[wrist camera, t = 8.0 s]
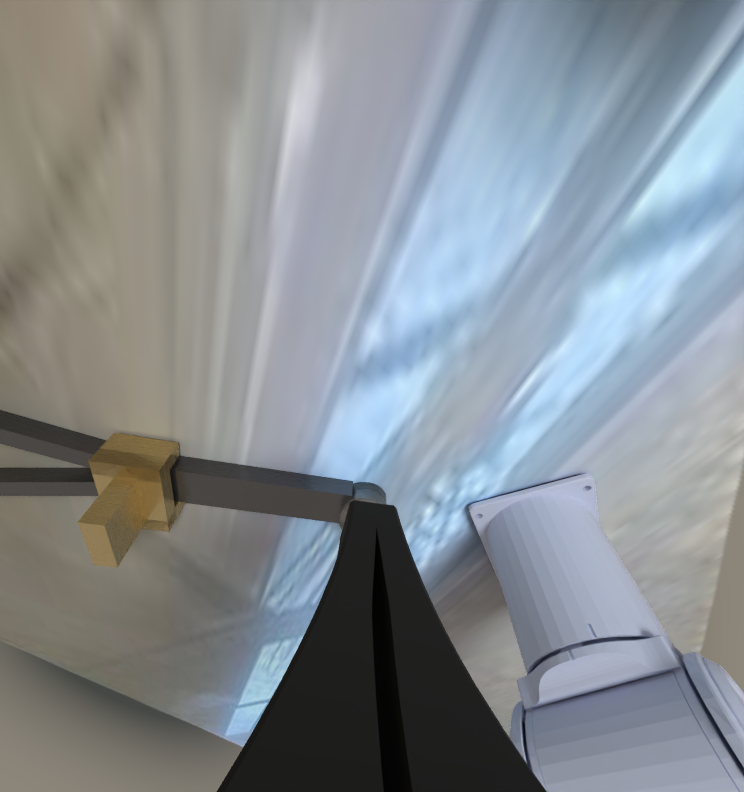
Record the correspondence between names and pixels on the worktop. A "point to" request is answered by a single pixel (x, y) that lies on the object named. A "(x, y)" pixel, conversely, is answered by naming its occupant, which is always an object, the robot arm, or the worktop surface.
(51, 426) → the grey long bar part
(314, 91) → the worktop surface
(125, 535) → the collar
